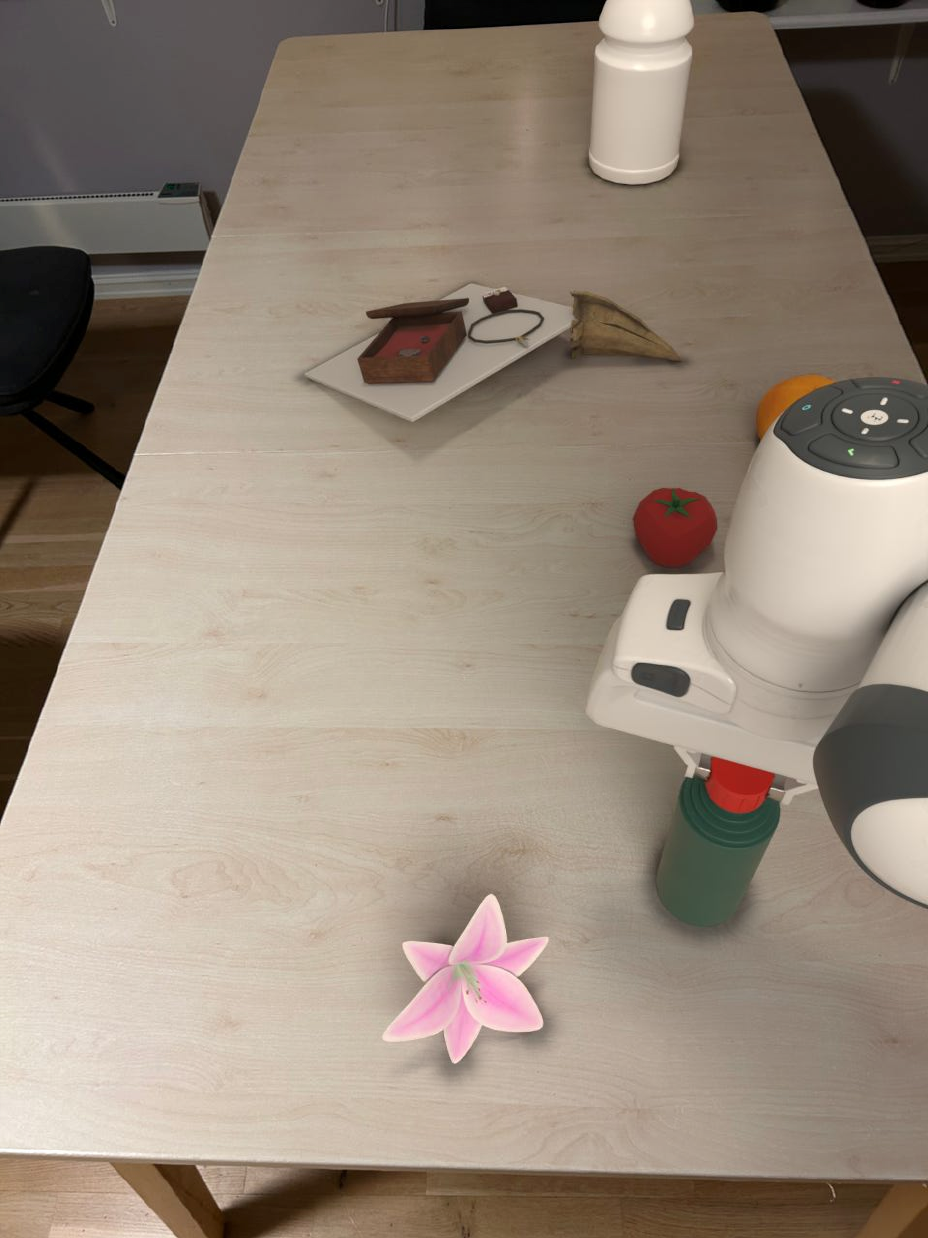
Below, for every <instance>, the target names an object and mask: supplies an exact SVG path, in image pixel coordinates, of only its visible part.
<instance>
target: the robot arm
mask: <svg viewBox="0 0 928 1238" xmlns="http://www.w3.org/2000/svg"><path fill="white" fill-rule="evenodd" d="M723 563H724V568H725V569H724V571H717V572H708V573H707V572H705V573H704V572H703V573H650V574H645V575H642V576H640V577H639V578H638V580H637V582H636V583H635V585H634V587H633V589H632V591H631V594H630V595H629V597H628V600H627V602H626V605H625V607H624V609H623V612H622V614H621V615H620V616H618V617H617V618H616V620H615V621H614V622H613V624H612V626H611V628H610V629H609V632H608V634H607V636H606V639H605V641H604V645H603V648H602V650H601V653H600V655H599V658H598V661H597V663H596V664H597V665H596V667H595V669H594V672H593V676H592V679H591V682H590V686H589V688H588V692H587V694H586V699H585V702H584V713H585V714H586V715H587V717H588V718H589V719H590V720H591V721H592V722H594V723H595V724H596V725H598V726H600V727H604V728H607V729H608V728H609V729H611V730H615V731H619V732H623V733H626V734H630V735H634V736H637V737H641V738H644V739H648V740H653V741H655V742H659V743H662V744H667V745H670V746H673V750H675V752H676V753H677V755H678V756H679V757H680V758H681V760H682V761H683V762H684V764H685V765H687V766H686V769H685V773H684V777H685V778H686V777H690V778H693V779H697V780H701V781H705V782H707V781H708V778H709V775H710V772H711V761H712V758H713V756H714V757H717V758H721V759H724V760H728V761H732V762H735V763H739V764H743V765H746V766H750V767H753V768H757V769H761V770H764V771H768V772H772V773H774V778H773V782H772V784H771V786H770V788H769V790H768V793H767V794H766V797H765V799H768V800H772V801H775V802H778V803H780V805H786V806H789V805H790V804H791V802H792V800H793V798H794V796H798V795H801V794H806V793H808V792H812V791H815V790H818V791H819V795H820V798H821V801H822V805H823V806H824V809H825V811H826V813H827V816H828V818H829V821H830V823H831V825H832V827H833V829H834V831H835V832H836V834H837V836H838V838H839V840H840V842H841V843H842V844H843V846H844V848H845V849H846V851H847V852H848V854H849V855H850V857H851V858H852V859H853V860H854V861H855V863H856V864H857V865H858V867H859V868H860V869H861V870H862V871H863V872H864V873H865V874H866V875H867V876H868V877H870V879H872V880H873V881H874V882H875V883H877V884H878V885H879V886H881V887H883V888H884V889H885V890H887V891H889V892H890V893H891V894H893V895H895V896H898V897H899V898H901V899H903V900H904V901H906V902H909V903H911V904H913V905H916V906H918V907H921V908H923V909H926V910H928V384H925V383H922V382H920V381H919V382H918V381H914V380H910V379H905V378H898V377H889V376H871V377H856V378H850V379H845V380H840V381H835V383H832V384H829V385H826V386H823V387H821V388H818V389H816V390H814V391H812V392H810V393H808V394H806V395H804V396H803V397H801V398H799V399H798V400H796V401H795V402H794V403H793V404H791V405H790V406H789V407H788V408H787V409H786V410H785V411H784V412H783V413H781V414H780V415H779V416H778V417H777V418H776V420H775V421H774V422H773V423H772V424H771V426H770V427H769V428H768V430H767V431H766V433H765V435H764V436H763V438H762V440H760V442H759V444H757V448H756V450H755V451H754V453H753V455H752V458H751V460H750V462H749V465H748V468H747V470H746V472H745V475H744V478H743V480H742V484H741V486H740V489H739V492H738V495H737V497H736V501H735V505H734V507H733V511H732V514H731V518H730V521H729V525H728V528H727V531H726V535H725V539H724V548H723Z"/></svg>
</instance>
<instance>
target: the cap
mask: <svg viewBox="0 0 928 1238" xmlns="http://www.w3.org/2000/svg"><path fill="white" fill-rule="evenodd" d="M773 778H774V773H772V772H768V771H764V770H761V769H757V768H753V767H750V766H746V765H743V764H739V763H735V762H732V761H728V760H724V759H721V758H717V757H714V756H713V758H712V761H711V772H710V775H709V778H708V781H707V782H705V784H706V789H707V792H708V794H709V796H710V798H711V799H712V800H713V801H714V802H715V803H716V804H717V805H718V806H719V807H721V808H722V809H725V810H727V811H730V812H734V813H747V812H751V811H753V810H755V809H757V808H758V807H759V806H760V805H761V804H762V803H763V801H765V800H766V799H765V797H766V794H767V793H768V790H769V788H770V786H771V784H772V782H773Z"/></svg>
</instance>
